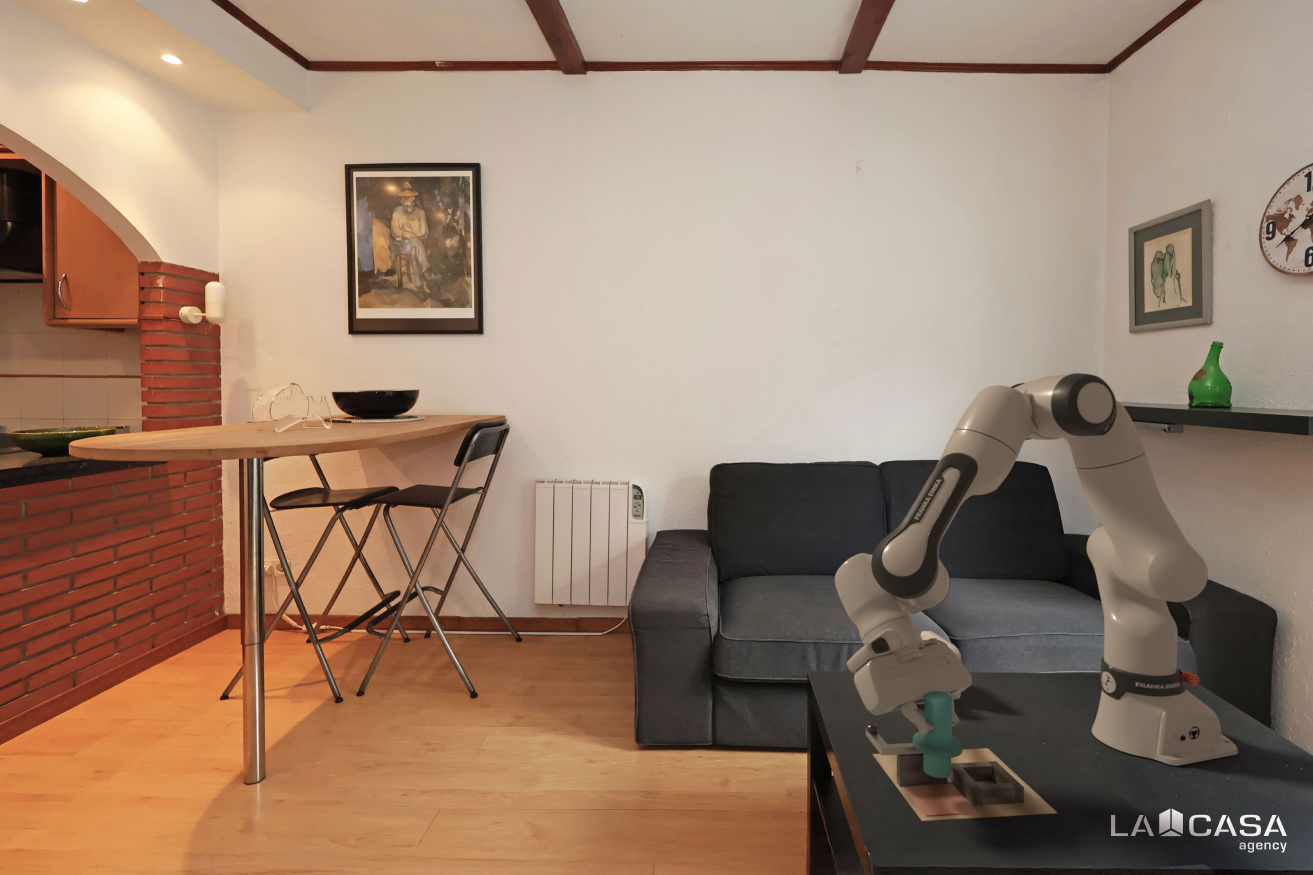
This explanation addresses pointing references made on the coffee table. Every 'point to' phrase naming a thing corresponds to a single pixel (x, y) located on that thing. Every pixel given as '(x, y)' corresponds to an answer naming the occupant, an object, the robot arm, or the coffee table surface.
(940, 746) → the plug
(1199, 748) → the robot arm
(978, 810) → the socket board
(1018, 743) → the coffee table surface
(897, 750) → the lever
